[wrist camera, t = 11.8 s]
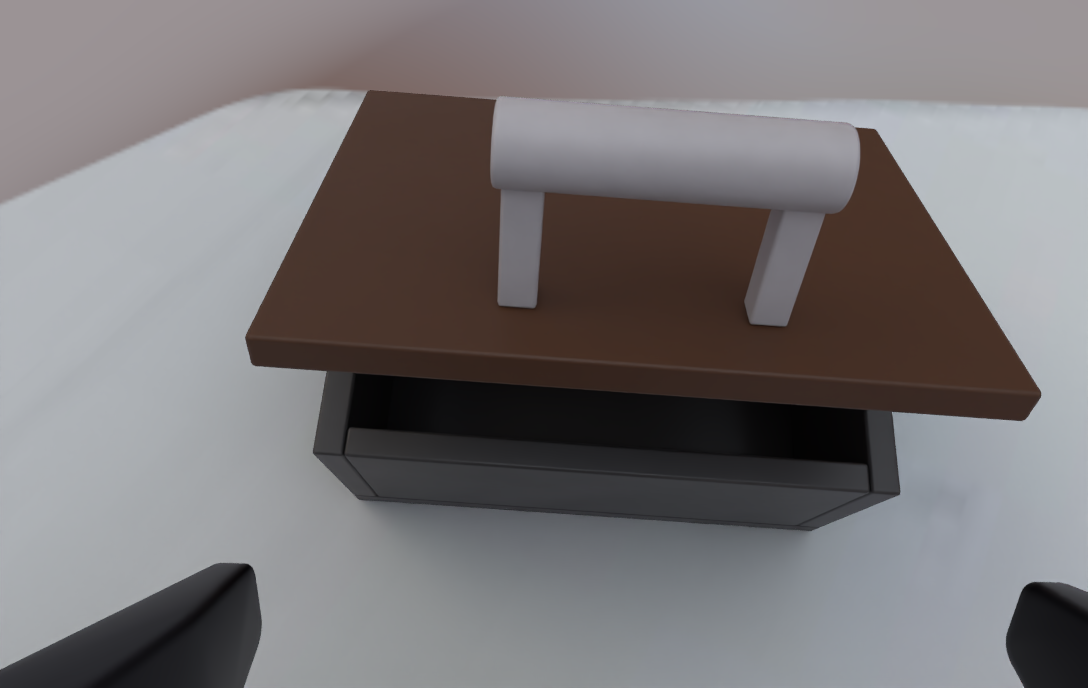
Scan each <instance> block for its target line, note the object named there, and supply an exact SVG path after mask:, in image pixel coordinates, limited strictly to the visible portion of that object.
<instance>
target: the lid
mask: <svg viewBox="0 0 1088 688" xmlns="http://www.w3.org/2000/svg"><path fill="white" fill-rule="evenodd" d="M245 338H246V343H247V347H248V351H249V355H250V359H251V363H252V364H253V365H254V366H263V367H277V368H291V369H305V370H319V371H333V372H347V373H360V374H374V375H388V376H402V377H416V378H430V379H444V380H458V381H472V382H486V383H500V384H514V385H528V386H541V387H555V388H569V389H583V390H597V391H611V392H625V393H639V394H653V395H667V396H681V397H695V398H709V399H723V400H736V401H750V402H764V403H778V404H792V405H806V406H820V407H834V408H848V409H862V410H876V411H890V412H904V413H917V414H931V415H945V416H959V417H973V418H987V419H1001V420H1015V421H1023V420H1025V419H1026V418H1027V417H1028V415H1029V414H1030V412H1031V411H1032V409H1033V408H1034V407H1035V405H1036V404H1037V402H1038V401H1039V399H1040V398H1041V391H1040V390H1039V388H1038V387H1037V385H1036V383H1035V382H1034V380H1033V379H1032V377H1031V375H1030V374H1029V372H1028V371H1027V369H1026V367H1025V366H1024V364H1023V363H1022V361H1021V360H1020V358H1019V356H1018V355H1017V353H1016V352H1015V350H1014V348H1013V347H1012V345H1011V344H1010V342H1009V340H1008V339H1007V337H1006V336H1005V334H1004V332H1003V331H1002V329H1001V328H1000V326H999V325H998V323H997V321H996V320H995V318H994V317H993V315H992V313H991V312H990V310H989V309H988V307H987V305H986V304H985V302H984V301H983V299H982V298H981V296H980V294H979V293H978V291H977V290H976V288H975V286H974V285H973V283H972V282H971V280H970V278H969V277H968V275H967V274H966V272H965V271H964V269H963V267H962V266H961V264H960V263H959V261H958V259H957V258H956V256H955V255H954V253H953V251H952V250H951V248H950V247H949V245H948V243H947V242H946V240H945V239H944V237H943V236H942V234H941V232H940V231H939V229H938V228H937V226H936V224H935V223H934V221H933V220H932V218H931V216H930V215H929V213H928V212H927V210H926V209H925V207H924V205H923V204H922V202H921V201H920V199H919V197H918V196H917V194H916V193H915V191H914V189H913V188H912V186H911V185H910V183H909V182H908V180H907V178H906V177H905V175H904V174H903V172H902V170H901V169H900V167H899V166H898V164H897V162H896V161H895V159H894V158H893V156H892V154H891V153H890V151H889V150H888V148H887V147H886V145H885V143H884V142H883V140H882V139H881V137H880V135H879V134H878V132H877V131H876V130H875V129H868V128H855V127H854V126H853V125H851V124H849V123H844V122H831V121H818V120H805V119H792V118H779V117H766V116H753V115H740V114H727V113H714V112H701V111H688V110H675V109H662V108H649V107H636V106H623V105H610V104H597V103H584V102H571V101H558V100H545V99H532V98H519V97H506V96H501V97H498V98H497V100H491V99H478V98H465V97H452V96H439V95H426V94H412V93H400V92H387V91H374V90H370V91H368V92H367V94H366V96H365V98H364V100H363V102H362V104H361V106H360V108H359V110H358V112H357V114H356V116H355V118H354V120H353V122H352V124H351V126H350V128H349V130H348V132H347V134H346V136H345V138H344V140H343V142H342V144H341V146H340V148H339V150H338V152H337V154H336V156H335V158H334V160H333V162H332V164H331V166H330V168H329V170H328V172H327V174H326V176H325V178H324V180H323V182H322V184H321V186H320V188H319V190H318V192H317V194H316V196H315V198H314V200H313V202H312V204H311V206H310V208H309V210H308V212H307V214H306V216H305V218H304V220H303V222H302V224H301V226H300V228H299V230H298V232H297V234H296V236H295V238H294V240H293V242H292V244H291V246H290V248H289V250H288V252H287V254H286V256H285V258H284V260H283V262H282V264H281V266H280V268H279V270H278V272H277V274H276V276H275V278H274V280H273V282H272V284H271V286H270V288H269V290H268V292H267V294H266V296H265V298H264V300H263V302H262V304H261V306H260V308H259V310H258V312H257V314H256V316H255V318H254V320H253V322H252V324H251V326H250V328H249V330H248V332H247V334H246V337H245Z"/></svg>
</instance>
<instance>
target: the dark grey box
mask: <svg viewBox="0 0 1088 688" xmlns="http://www.w3.org/2000/svg"><path fill="white" fill-rule="evenodd" d="M313 454H314V455H315V456H316V457H317V458H318V459H319V460H320V461H321V462H322V463H323V464H324V465H325V466H326V467H327V468H328V469H329V470H330V471H331V472H332V473H333V474H334V475H335V476H336V477H337V478H338V479H339V480H340V481H341V482H342V483H343V484H344V485H345V486H346V487H347V488H348V489H349V490H350V491H351V492H352V493H353V494H354V495H355V496H356V497H357V498H358V499H360V500H374V501H389V502H403V503H418V504H432V505H446V506H461V507H475V508H490V509H504V510H518V511H533V512H547V513H561V514H576V515H590V516H605V517H619V518H633V519H648V520H662V521H676V522H691V523H705V524H720V525H734V526H748V527H763V528H777V529H792V530H806V531H812V530H814V529H817V528H819V527H821V526H824V525H826V524H829V523H831V522H834V521H836V520H839V519H841V518H844V517H846V516H848V515H851V514H853V513H856V512H858V511H861V510H863V509H866V508H868V507H871V506H873V505H876V504H878V503H880V502H883V501H885V500H888V499H890V498H893V497H895V496H898V495H900V484H899V475H898V465H897V456H896V446H895V436H894V427H893V417H892V412H890V411H876V410H862V409H848V408H834V407H820V406H806V405H792V404H778V403H764V402H750V401H736V400H723V399H709V398H695V397H681V396H667V395H653V394H639V393H625V392H611V391H597V390H583V389H569V388H555V387H541V386H528V385H514V384H500V383H486V382H472V381H458V380H444V379H430V378H416V377H402V376H388V375H374V374H360V373H347V372H333V371H327V373H326V379H325V384H324V390H323V396H322V402H321V407H320V413H319V419H318V425H317V430H316V436H315V442H314V448H313Z"/></svg>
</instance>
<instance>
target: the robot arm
mask: <svg viewBox="0 0 1088 688" xmlns="http://www.w3.org/2000/svg"><path fill="white" fill-rule="evenodd" d="M261 628H262V619H261V611H260V604H259V597H258V591H257V584H256V577H255V573H254V570H253V568H252V567H251V566H250V565H249V564H239V563H218V564H214V565H212V566H210V567H208V568H206V569H204V570H202V571H200V572H198V573H196V574H194V575H192V576H190V577H188V578H186V579H184V580H182V581H180V582H178V583H175V584H173V585H171V586H169V587H167V588H165V589H163V590H161V591H159V592H157V593H155V594H153V595H151V596H149V597H147V598H145V599H143V600H141V601H139V602H137V603H135V604H133V605H131V606H129V607H127V608H125V609H123V610H121V611H119V612H117V613H115V614H113V615H111V616H109V617H106V618H104V619H102V620H100V621H98V622H96V623H94V624H92V625H90V626H88V627H86V628H84V629H82V630H80V631H78V632H76V633H74V634H72V635H70V636H68V637H66V638H64V639H62V640H60V641H58V642H56V643H54V644H52V645H50V646H48V647H46V648H44V649H42V650H40V651H37V652H35V653H33V654H31V655H29V656H27V657H25V658H23V659H21V660H19V661H17V662H15V663H13V664H11V665H9V666H7V667H5V668H3V669H1V670H0V688H244V685H245V682H246V679H247V676H248V673H249V670H250V667H251V665H252V662H253V659H254V656H255V653H256V650H257V647H258V644H259V640H260V636H261ZM1006 648H1007V653H1008V656H1009V659H1010V661H1011V664H1012V665H1013V667H1014V669H1015V671H1016V673H1017V675H1018V676H1019V678H1020V680H1021V682H1022V684H1023V686H1024V687H1025V688H1088V592H1086V591H1083V590H1081V589H1078V588H1076V587H1073V586H1071V585H1068V584H1063V583H1053V582H1032V583H1029V584H1027V585H1026V586H1025V587H1024V588H1023V590H1022V592H1021V594H1020V597H1019V600H1018V603H1017V606H1016V609H1015V612H1014V614H1013V617H1012V620H1011V623H1010V626H1009V629H1008V632H1007V636H1006Z"/></svg>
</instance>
